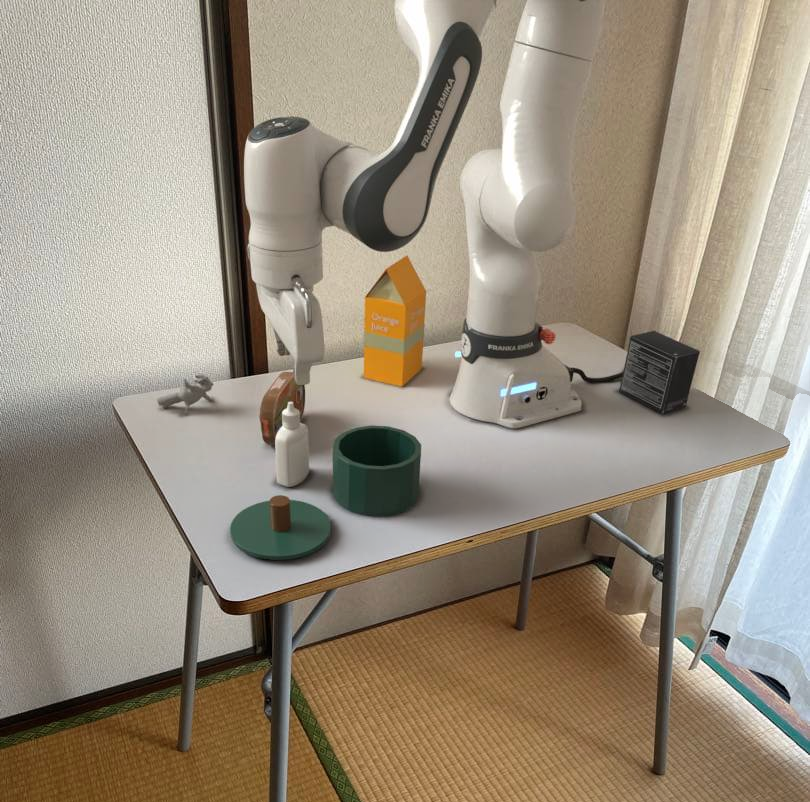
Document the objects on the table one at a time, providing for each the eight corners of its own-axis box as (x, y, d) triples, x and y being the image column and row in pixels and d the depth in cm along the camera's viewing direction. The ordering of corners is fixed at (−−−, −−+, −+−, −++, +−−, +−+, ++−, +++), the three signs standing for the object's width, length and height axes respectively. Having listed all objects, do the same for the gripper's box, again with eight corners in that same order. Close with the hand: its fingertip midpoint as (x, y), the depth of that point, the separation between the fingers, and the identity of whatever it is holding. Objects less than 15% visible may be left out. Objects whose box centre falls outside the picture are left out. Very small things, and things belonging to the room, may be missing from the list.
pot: (400, 465, 129) (403, 420, 125) (431, 508, 120) (434, 461, 116) (323, 477, 125) (322, 431, 121) (348, 522, 116) (348, 474, 112)
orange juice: (422, 368, 158) (429, 258, 146) (402, 386, 151) (407, 273, 139) (383, 359, 160) (387, 250, 149) (362, 377, 153) (364, 264, 142)
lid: (315, 500, 120) (315, 468, 117) (343, 553, 111) (343, 519, 108) (222, 515, 116) (219, 482, 113) (242, 571, 107) (239, 537, 104)
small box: (688, 407, 149) (703, 350, 143) (662, 416, 146) (676, 357, 140) (642, 384, 156) (655, 328, 150) (617, 391, 153) (628, 335, 147)
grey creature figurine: (168, 394, 145) (218, 377, 144) (177, 427, 144) (227, 411, 143) (141, 378, 135) (194, 360, 134) (150, 414, 135) (203, 396, 133)
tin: (278, 456, 130) (275, 405, 125) (258, 453, 130) (255, 402, 125) (307, 411, 142) (306, 363, 137) (289, 409, 142) (287, 361, 137)
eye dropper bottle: (317, 480, 125) (316, 404, 118) (282, 490, 122) (279, 413, 115) (303, 466, 128) (301, 392, 121) (268, 476, 125) (264, 400, 118)
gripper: (335, 289, 100) (338, 398, 108) (291, 237, 116) (296, 336, 124) (282, 295, 98) (289, 405, 106) (244, 242, 114) (252, 341, 122)
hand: (292, 367), depth 115 cm, fingers open, 8 cm apart
